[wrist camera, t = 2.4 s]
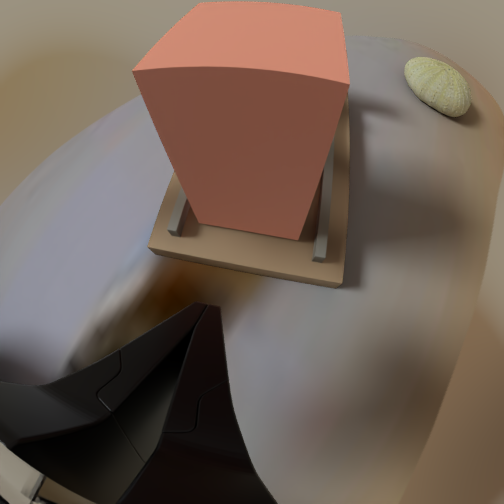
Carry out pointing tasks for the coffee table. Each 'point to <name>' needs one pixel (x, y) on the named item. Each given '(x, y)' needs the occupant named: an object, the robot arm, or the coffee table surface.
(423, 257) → the coffee table surface
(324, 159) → the salmon pink rectangular block
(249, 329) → the coffee table surface
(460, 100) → the sea urchin shell
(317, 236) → the base
